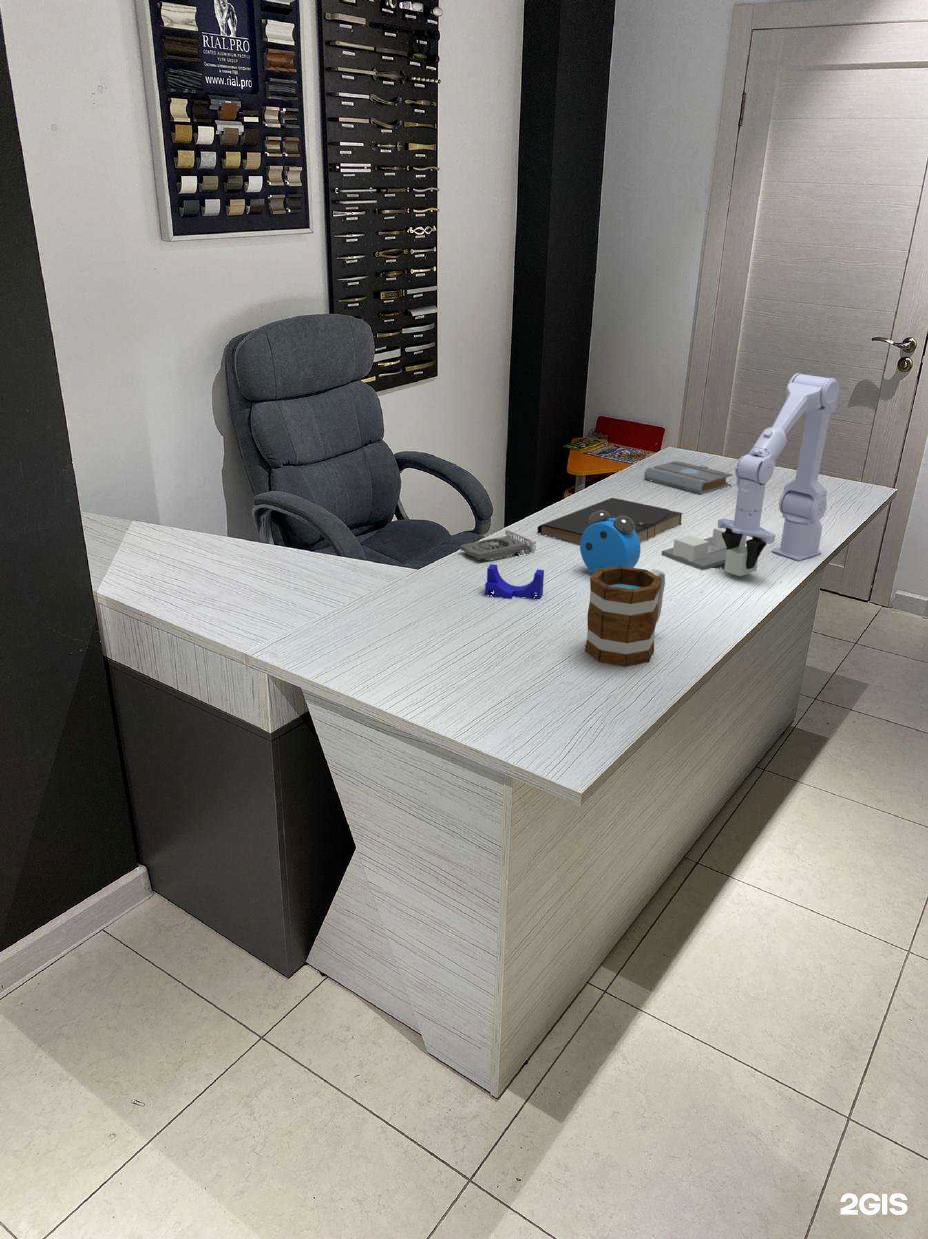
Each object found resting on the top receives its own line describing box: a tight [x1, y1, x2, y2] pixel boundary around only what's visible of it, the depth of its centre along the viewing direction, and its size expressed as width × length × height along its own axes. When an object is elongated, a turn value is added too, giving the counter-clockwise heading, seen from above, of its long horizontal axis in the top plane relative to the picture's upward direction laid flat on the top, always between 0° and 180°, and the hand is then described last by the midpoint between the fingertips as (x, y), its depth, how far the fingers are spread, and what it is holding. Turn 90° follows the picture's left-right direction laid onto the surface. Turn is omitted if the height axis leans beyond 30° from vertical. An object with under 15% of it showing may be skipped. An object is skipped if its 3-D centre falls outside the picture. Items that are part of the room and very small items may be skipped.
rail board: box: [661, 536, 727, 571], centre depth 235 cm, size 20×13×1 cm, turn 127°
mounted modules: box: [672, 527, 748, 562], centre depth 234 cm, size 20×6×4 cm, turn 127°
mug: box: [584, 566, 666, 668], centre depth 183 cm, size 20×14×15 cm
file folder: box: [537, 497, 683, 546], centre depth 252 cm, size 33×4×24 cm
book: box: [643, 460, 733, 496], centre depth 294 cm, size 21×16×5 cm
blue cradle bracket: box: [484, 563, 545, 600], centre depth 208 cm, size 12×4×6 cm, turn 74°
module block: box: [723, 545, 759, 577], centre depth 220 cm, size 6×4×5 cm
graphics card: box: [460, 529, 537, 561], centre depth 234 cm, size 17×4×12 cm
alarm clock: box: [579, 510, 641, 574], centre depth 218 cm, size 13×6×15 cm, turn 47°
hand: (741, 564), depth 221 cm, fingers closed on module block, 4 cm apart
